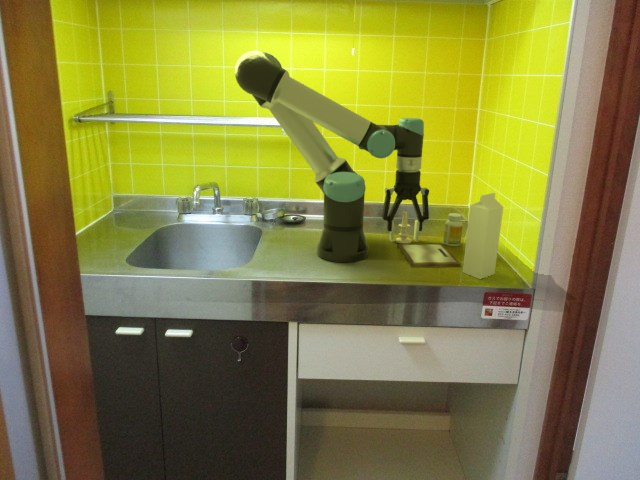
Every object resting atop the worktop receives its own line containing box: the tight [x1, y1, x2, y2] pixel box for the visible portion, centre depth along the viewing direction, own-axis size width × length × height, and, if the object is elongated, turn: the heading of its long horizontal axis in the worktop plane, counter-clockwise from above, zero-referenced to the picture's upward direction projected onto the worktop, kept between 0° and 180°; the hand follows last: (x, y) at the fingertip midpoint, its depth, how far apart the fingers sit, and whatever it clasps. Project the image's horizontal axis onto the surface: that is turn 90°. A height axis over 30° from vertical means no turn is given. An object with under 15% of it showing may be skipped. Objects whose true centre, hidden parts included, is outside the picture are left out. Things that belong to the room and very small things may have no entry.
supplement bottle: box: [442, 212, 464, 247], centre depth 156 cm, size 5×5×10 cm
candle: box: [394, 210, 412, 245], centre depth 158 cm, size 5×5×10 cm
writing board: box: [397, 243, 462, 268], centre depth 146 cm, size 14×17×1 cm
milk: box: [462, 192, 504, 280], centre depth 130 cm, size 6×6×22 cm
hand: (403, 240), depth 159 cm, fingers open, 7 cm apart
